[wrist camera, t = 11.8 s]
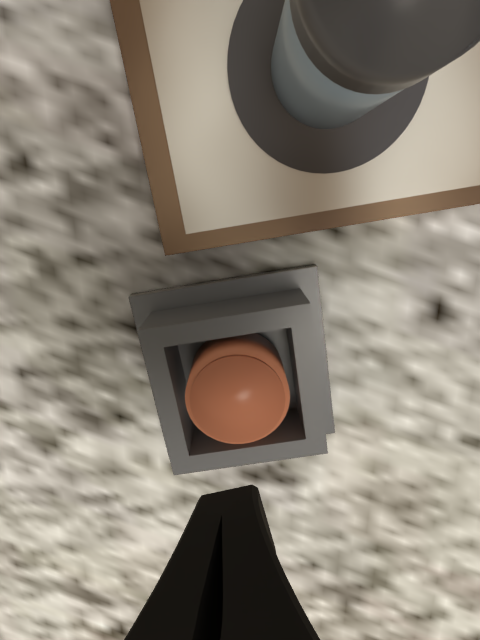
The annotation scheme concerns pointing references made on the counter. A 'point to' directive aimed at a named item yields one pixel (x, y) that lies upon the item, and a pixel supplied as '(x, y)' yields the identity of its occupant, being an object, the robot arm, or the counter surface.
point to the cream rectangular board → (280, 132)
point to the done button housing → (227, 321)
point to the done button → (237, 389)
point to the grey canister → (363, 52)
